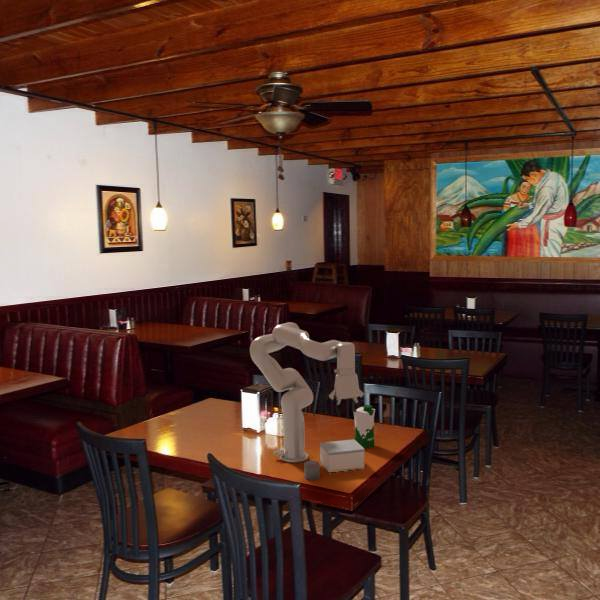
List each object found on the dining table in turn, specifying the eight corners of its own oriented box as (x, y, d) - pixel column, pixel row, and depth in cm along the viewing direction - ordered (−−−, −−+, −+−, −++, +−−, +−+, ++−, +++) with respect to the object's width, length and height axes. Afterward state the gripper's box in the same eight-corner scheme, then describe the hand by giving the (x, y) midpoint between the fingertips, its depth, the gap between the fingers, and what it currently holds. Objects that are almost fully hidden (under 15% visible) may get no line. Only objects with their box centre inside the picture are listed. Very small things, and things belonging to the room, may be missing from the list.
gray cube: (306, 481, 255) (306, 467, 254) (302, 475, 261) (302, 461, 260) (321, 479, 256) (321, 465, 256) (317, 473, 262) (317, 460, 262)
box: (328, 473, 262) (328, 455, 262) (320, 461, 276) (319, 444, 275) (364, 469, 266) (364, 451, 265) (354, 458, 280) (353, 441, 279)
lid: (328, 454, 261) (328, 452, 261) (319, 444, 275) (319, 442, 275) (364, 450, 265) (364, 449, 265) (354, 441, 279) (354, 439, 279)
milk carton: (367, 450, 289) (366, 409, 287) (351, 446, 295) (350, 406, 293) (377, 445, 296) (376, 404, 294) (361, 441, 302) (361, 401, 300)
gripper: (329, 374, 256) (329, 416, 258) (368, 371, 260) (368, 412, 262) (324, 370, 264) (325, 411, 265) (362, 368, 268) (362, 408, 269)
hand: (346, 411), depth 264 cm, fingers open, 6 cm apart
